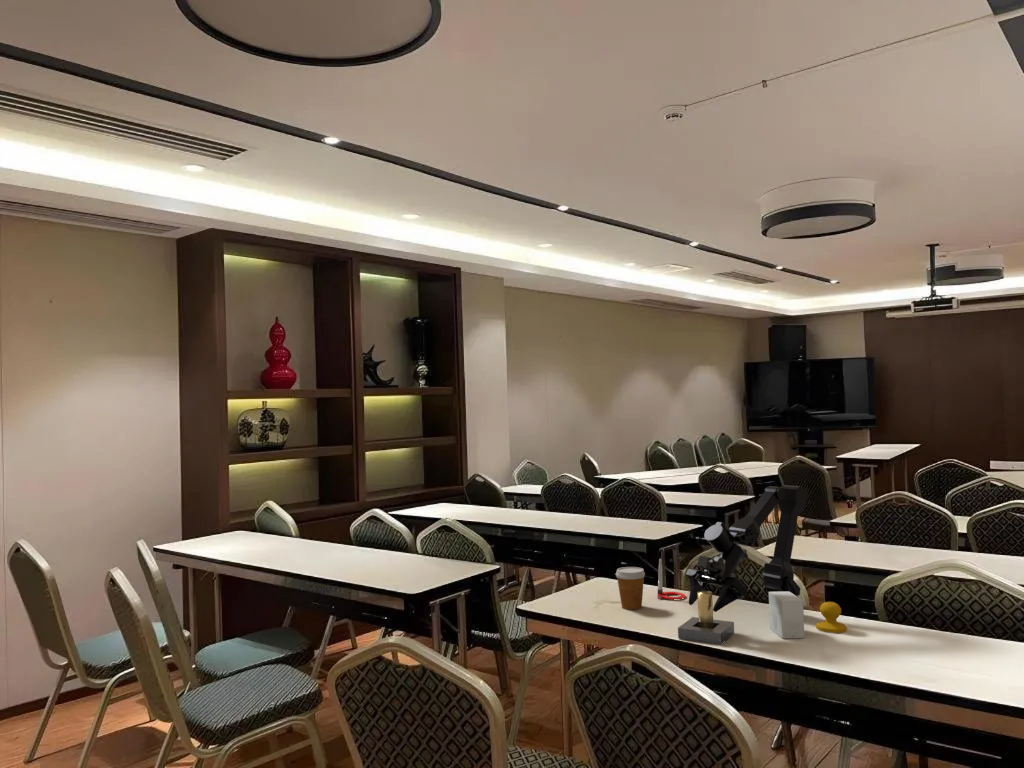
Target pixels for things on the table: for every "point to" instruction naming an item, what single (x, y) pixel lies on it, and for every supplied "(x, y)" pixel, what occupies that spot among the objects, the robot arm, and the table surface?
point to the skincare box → (786, 614)
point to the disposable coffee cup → (630, 586)
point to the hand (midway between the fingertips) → (701, 607)
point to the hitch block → (706, 631)
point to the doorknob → (831, 619)
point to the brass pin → (705, 609)
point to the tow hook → (660, 591)
